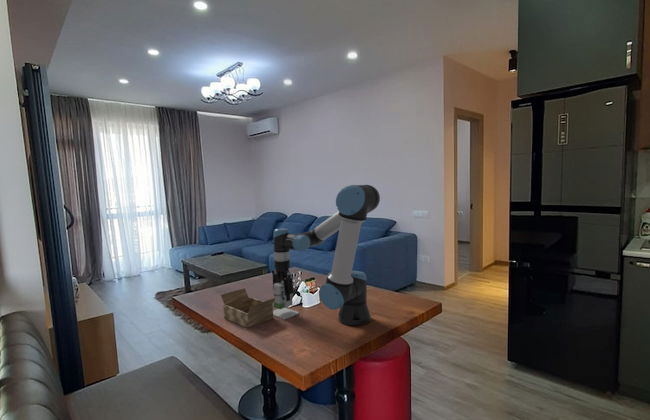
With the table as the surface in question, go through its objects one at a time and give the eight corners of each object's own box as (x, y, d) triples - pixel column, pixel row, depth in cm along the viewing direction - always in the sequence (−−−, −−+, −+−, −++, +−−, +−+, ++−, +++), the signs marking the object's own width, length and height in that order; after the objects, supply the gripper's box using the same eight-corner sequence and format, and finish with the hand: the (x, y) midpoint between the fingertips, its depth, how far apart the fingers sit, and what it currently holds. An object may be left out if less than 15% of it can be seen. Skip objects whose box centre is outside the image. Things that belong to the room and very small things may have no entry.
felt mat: (299, 313, 170) (299, 312, 170) (284, 319, 162) (284, 318, 162) (283, 308, 178) (283, 307, 178) (268, 313, 170) (268, 312, 170)
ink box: (279, 309, 165) (279, 286, 164) (273, 307, 168) (272, 284, 168) (293, 304, 171) (292, 281, 170) (286, 302, 175) (285, 280, 174)
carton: (277, 319, 164) (276, 297, 163) (251, 329, 152) (250, 306, 151) (246, 307, 180) (245, 287, 179) (220, 316, 169) (219, 295, 168)
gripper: (300, 260, 165) (301, 307, 167) (275, 256, 177) (277, 299, 179) (288, 263, 159) (290, 312, 161) (264, 258, 171) (265, 303, 173)
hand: (283, 305), depth 170 cm, fingers closed on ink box, 5 cm apart
